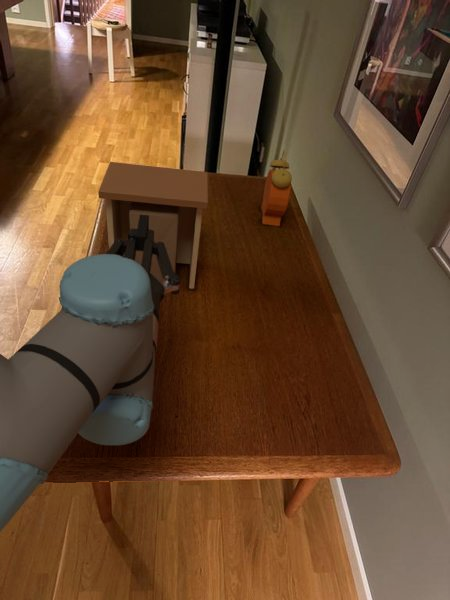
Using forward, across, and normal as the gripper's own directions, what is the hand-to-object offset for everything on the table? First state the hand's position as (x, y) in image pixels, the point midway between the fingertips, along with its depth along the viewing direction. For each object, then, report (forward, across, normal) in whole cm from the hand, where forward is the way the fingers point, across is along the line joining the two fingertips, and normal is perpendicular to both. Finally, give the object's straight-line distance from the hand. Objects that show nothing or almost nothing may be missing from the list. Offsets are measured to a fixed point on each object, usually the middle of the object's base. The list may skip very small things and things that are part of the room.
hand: (144, 222), depth 68 cm
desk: (+18, +1, -26) cm, 32 cm away
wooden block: (+18, +1, -26) cm, 32 cm away
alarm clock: (+50, +35, -26) cm, 66 cm away
